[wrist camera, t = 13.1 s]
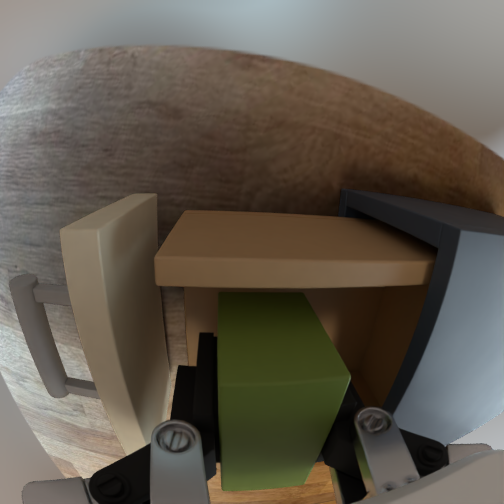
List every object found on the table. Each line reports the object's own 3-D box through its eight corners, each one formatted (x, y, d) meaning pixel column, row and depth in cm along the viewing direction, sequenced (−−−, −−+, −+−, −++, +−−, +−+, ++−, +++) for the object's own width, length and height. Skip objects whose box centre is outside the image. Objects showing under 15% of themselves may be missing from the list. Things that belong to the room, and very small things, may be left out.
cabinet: (307, 378, 18) (348, 482, 10) (340, 187, 14) (460, 229, 6) (454, 351, 20) (508, 408, 12) (495, 214, 16) (578, 248, 8)
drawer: (87, 373, 15) (52, 451, 9) (52, 196, 12) (-41, 231, 5) (357, 375, 17) (399, 448, 11) (399, 207, 14) (492, 245, 7)
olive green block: (217, 290, 10) (217, 385, 5) (303, 291, 10) (353, 376, 6) (218, 407, 11) (221, 491, 7) (283, 405, 12) (304, 485, 8)
